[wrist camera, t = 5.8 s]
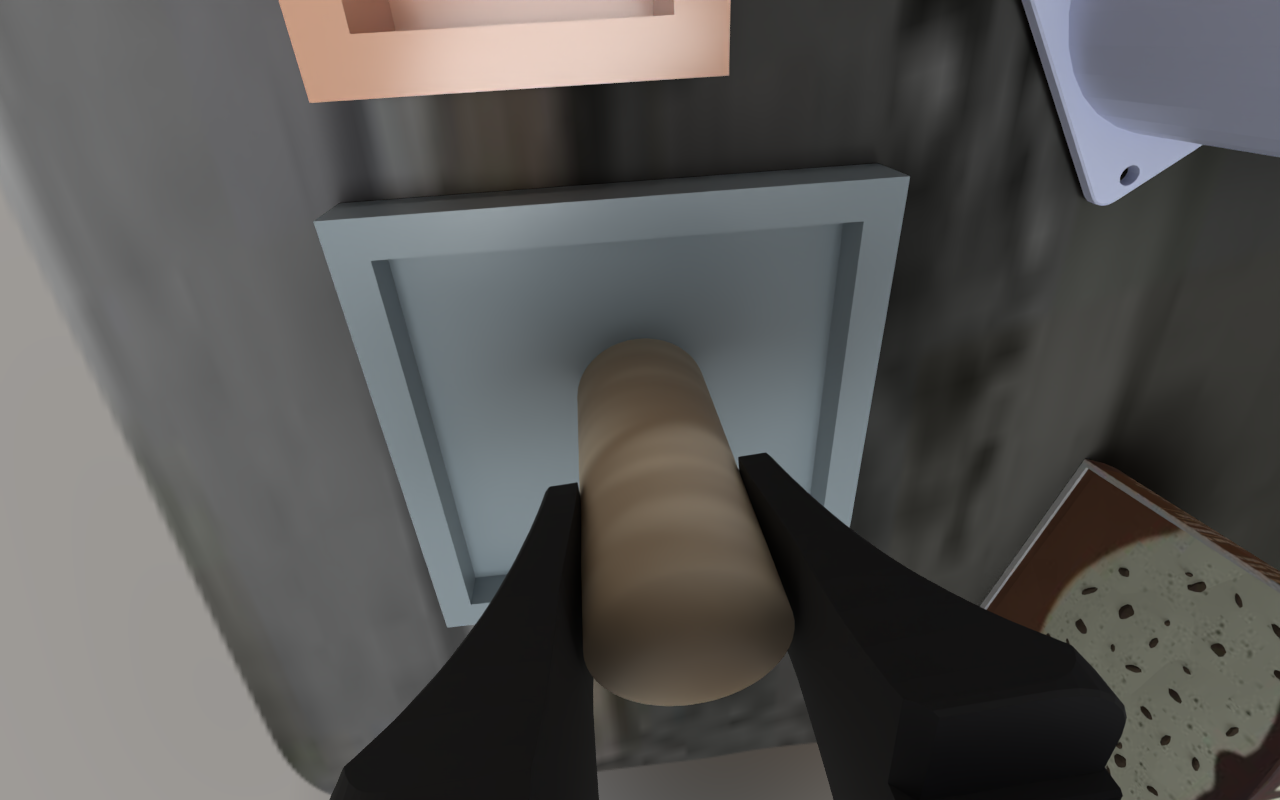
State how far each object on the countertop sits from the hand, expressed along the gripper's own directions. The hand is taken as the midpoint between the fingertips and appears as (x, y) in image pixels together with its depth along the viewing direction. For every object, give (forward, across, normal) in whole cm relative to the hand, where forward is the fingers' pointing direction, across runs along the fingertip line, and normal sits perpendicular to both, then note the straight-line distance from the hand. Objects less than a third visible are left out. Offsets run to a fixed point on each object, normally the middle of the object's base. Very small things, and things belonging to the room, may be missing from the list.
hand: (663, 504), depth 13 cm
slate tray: (+6, 0, +1) cm, 6 cm away
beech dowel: (+4, 0, 0) cm, 4 cm away
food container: (+6, -17, +12) cm, 22 cm away
